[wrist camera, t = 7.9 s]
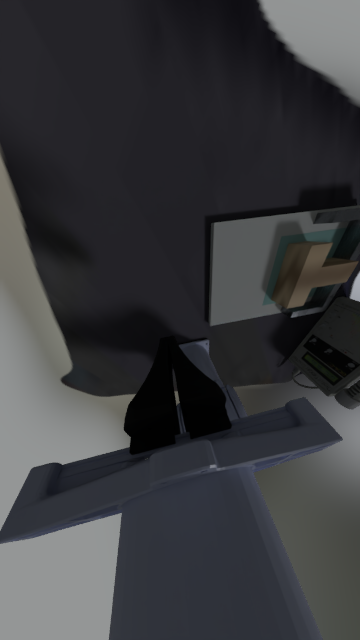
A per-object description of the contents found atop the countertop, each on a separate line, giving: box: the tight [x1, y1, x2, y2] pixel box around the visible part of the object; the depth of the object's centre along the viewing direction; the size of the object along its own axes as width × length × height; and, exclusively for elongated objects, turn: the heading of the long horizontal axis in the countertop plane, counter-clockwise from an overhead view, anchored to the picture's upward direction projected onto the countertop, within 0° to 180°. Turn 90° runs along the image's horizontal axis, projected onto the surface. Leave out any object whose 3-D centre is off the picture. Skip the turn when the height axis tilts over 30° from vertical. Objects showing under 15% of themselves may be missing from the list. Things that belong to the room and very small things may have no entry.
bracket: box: [281, 208, 360, 318], centre depth 22 cm, size 15×7×2 cm, turn 6°
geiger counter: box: [288, 297, 360, 409], centre depth 30 cm, size 14×6×25 cm
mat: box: [209, 205, 360, 326], centre depth 22 cm, size 16×22×1 cm
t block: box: [271, 241, 359, 309], centre depth 21 cm, size 9×9×4 cm
